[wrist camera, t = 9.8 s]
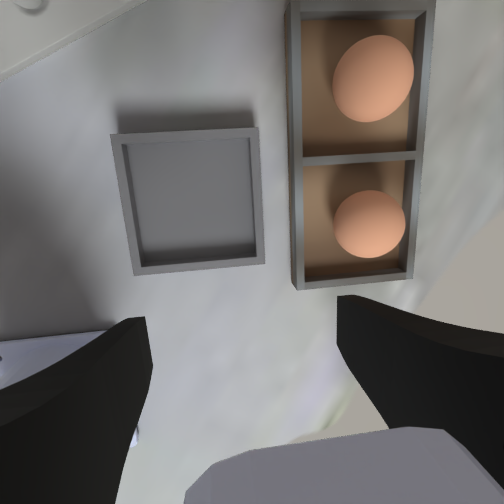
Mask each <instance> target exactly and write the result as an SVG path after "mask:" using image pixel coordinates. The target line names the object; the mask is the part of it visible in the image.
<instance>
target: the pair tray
mask: <svg viewBox="0 0 504 504" xmlns="http://www.w3.org/2000/svg"><path fill="white" fill-rule="evenodd" d="M435 8H436V0H291V1H290V3H289V5H288V8H287V10H286V12H285V14H284V19H285V56H286V93H287V130H288V168H289V205H290V242H291V279H292V284H293V285H294V287H295V288H296V290H307V289H316V288H326V287H336V286H346V285H356V284H366V283H376V282H385V281H395V280H405V279H413V272H414V260H415V248H416V236H417V224H418V212H419V200H420V188H421V176H422V164H423V152H424V140H425V128H426V116H427V104H428V92H429V80H430V68H431V56H432V44H433V32H434V20H435ZM375 35H386V36H391V37H393V38H396V39H397V40H399V41H400V42H402V43H403V44H404V45H405V46H406V48H407V49H408V51H409V52H410V54H411V57H412V60H413V65H414V77H413V82H412V86H411V89H410V91H409V93H408V95H407V97H406V98H405V100H404V101H403V103H402V104H401V105H400V106H399V107H398V108H397V109H396V110H395V111H394V112H393V113H391V114H390V115H388V116H387V117H385V118H383V119H380V120H377V121H373V122H359V121H355V120H352V119H350V118H348V117H347V116H345V115H344V114H343V113H342V112H341V111H340V110H339V108H338V107H337V105H336V103H335V100H334V97H333V92H332V82H333V76H334V72H335V69H336V67H337V64H338V62H339V61H340V59H341V57H342V56H343V55H344V53H345V52H346V51H347V50H348V49H349V48H350V47H351V46H353V45H354V44H355V43H357V42H358V41H360V40H362V39H364V38H367V37H370V36H375ZM366 190H375V191H380V192H383V193H386V194H388V195H390V196H391V197H393V198H394V199H395V200H396V201H397V202H398V203H399V205H400V206H401V208H402V210H403V212H404V216H405V230H404V234H403V236H402V238H401V240H400V242H399V243H398V244H397V245H396V246H395V247H394V248H393V249H392V250H391V251H389V252H388V253H386V254H384V255H382V256H379V257H374V258H362V257H358V256H355V255H352V254H350V253H349V252H347V251H346V250H345V249H343V248H342V247H341V245H340V244H339V243H338V241H337V239H336V237H335V234H334V230H333V220H334V216H335V213H336V211H337V209H338V207H339V206H340V204H341V203H342V202H343V201H344V200H345V199H346V198H348V197H349V196H351V195H353V194H355V193H357V192H361V191H366Z"/></svg>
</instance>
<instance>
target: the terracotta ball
mask: <svg viewBox="0 0 504 504" xmlns="http://www.w3.org/2000/svg"><path fill="white" fill-rule="evenodd" d="M333 230H334V234H335V237H336V239H337V241H338V243H339V244H340V245H341V247H342V248H343V249H345V250H346V251H347V252H349V253H350V254H352V255H355V256H358V257H362V258H374V257H379V256H382V255H384V254H386V253H388V252H389V251H391V250H392V249H393V248H394V247H395V246H396V245H397V244H398V243H399V242H400V240H401V238H402V236H403V234H404V230H405V216H404V212H403V210H402V208H401V206H400V205H399V203H398V202H397V201H396V200H395V199H394V198H393V197H391V196H390V195H388V194H386V193H383V192H380V191H375V190H366V191H361V192H357V193H355V194H353V195H351V196H349V197H348V198H346V199H345V200H344V201H343V202H342V203H341V204H340V206H339V207H338V209H337V211H336V213H335V216H334V220H333Z"/></svg>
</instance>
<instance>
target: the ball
mask: <svg viewBox="0 0 504 504" xmlns="http://www.w3.org/2000/svg"><path fill="white" fill-rule="evenodd" d="M413 77H414V65H413V60H412V57H411V54H410V52H409V51H408V49H407V48H406V46H405V45H404V44H403V43H402V42H400V41H399V40H397V39H396V38H393V37H391V36H386V35H375V36H370V37H367V38H364V39H362V40H360V41H358V42H357V43H355V44H354V45H353V46H351V47H350V48H349V49H348V50H347V51H346V52H345V53H344V55H343V56H342V57H341V59H340V61H339V62H338V64H337V67H336V69H335V72H334V76H333V82H332V92H333V97H334V100H335V103H336V105H337V107H338V108H339V110H340V111H341V112H342V113H343V114H344V115H345V116H347V117H348V118H350V119H352V120H355V121H359V122H373V121H377V120H380V119H383V118H385V117H387V116H388V115H390V114H391V113H393V112H394V111H395V110H396V109H397V108H398V107H399V106H400V105H401V104H402V103H403V101H404V100H405V98H406V97H407V95H408V93H409V91H410V89H411V86H412V82H413Z"/></svg>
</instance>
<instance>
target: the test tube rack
mask: <svg viewBox="0 0 504 504" xmlns="http://www.w3.org/2000/svg"><path fill="white" fill-rule="evenodd" d="M145 1H147V0H0V83H1V82H2V81H4V80H6V79H8V78H10V77H11V76H13V75H15V74H17V73H18V72H20V71H22V70H24V69H26V68H27V67H29V66H31V65H33V64H35V63H36V62H38V61H40V60H42V59H43V58H45V57H47V56H49V55H51V54H52V53H54V52H56V51H58V50H60V49H61V48H63V47H65V46H67V45H68V44H70V43H72V42H74V41H76V40H77V39H79V38H81V37H83V36H85V35H86V34H88V33H90V32H92V31H93V30H95V29H97V28H99V27H101V26H102V25H104V24H106V23H108V22H109V21H111V20H113V19H115V18H117V17H118V16H120V15H122V14H124V13H126V12H127V11H129V10H131V9H133V8H134V7H136V6H138V5H140V4H142V3H143V2H145Z"/></svg>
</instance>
